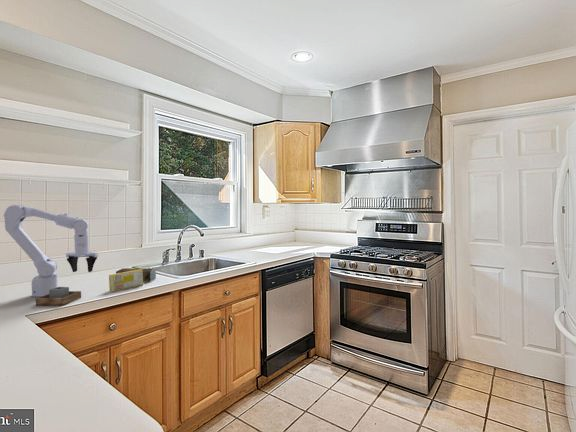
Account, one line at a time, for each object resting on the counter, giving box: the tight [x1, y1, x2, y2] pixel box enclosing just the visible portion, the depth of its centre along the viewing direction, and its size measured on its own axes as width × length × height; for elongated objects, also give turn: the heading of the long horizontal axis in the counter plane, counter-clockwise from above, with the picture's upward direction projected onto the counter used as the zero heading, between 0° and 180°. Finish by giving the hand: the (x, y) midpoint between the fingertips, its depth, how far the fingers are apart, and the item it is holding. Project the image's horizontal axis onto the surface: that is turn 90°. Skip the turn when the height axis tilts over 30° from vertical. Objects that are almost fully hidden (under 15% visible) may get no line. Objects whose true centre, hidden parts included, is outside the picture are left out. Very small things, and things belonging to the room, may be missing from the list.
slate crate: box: [49, 286, 70, 298], centre depth 142 cm, size 5×5×5 cm
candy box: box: [108, 268, 144, 292], centre depth 165 cm, size 16×2×8 cm, turn 141°
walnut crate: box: [35, 290, 82, 307], centre depth 142 cm, size 12×12×3 cm
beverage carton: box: [115, 267, 157, 283], centre depth 181 cm, size 8×19×7 cm, turn 91°
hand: (82, 271), depth 159 cm, fingers open, 7 cm apart
